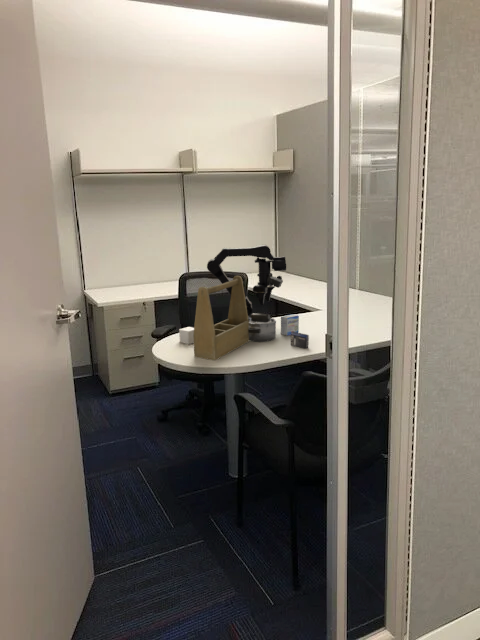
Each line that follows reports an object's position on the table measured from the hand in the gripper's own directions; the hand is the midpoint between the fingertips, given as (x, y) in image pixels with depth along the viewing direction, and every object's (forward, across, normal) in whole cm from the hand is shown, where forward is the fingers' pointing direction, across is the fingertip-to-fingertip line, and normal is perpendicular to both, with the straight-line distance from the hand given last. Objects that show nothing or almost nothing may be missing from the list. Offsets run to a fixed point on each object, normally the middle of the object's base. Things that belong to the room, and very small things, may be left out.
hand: (265, 303), depth 248 cm
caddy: (+13, -37, +7) cm, 40 cm away
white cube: (+13, -31, +26) cm, 43 cm away
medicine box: (+14, -4, -13) cm, 19 cm away
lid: (+6, -15, -2) cm, 16 cm away
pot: (+13, -15, -2) cm, 20 cm away
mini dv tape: (+14, -23, -23) cm, 35 cm away
